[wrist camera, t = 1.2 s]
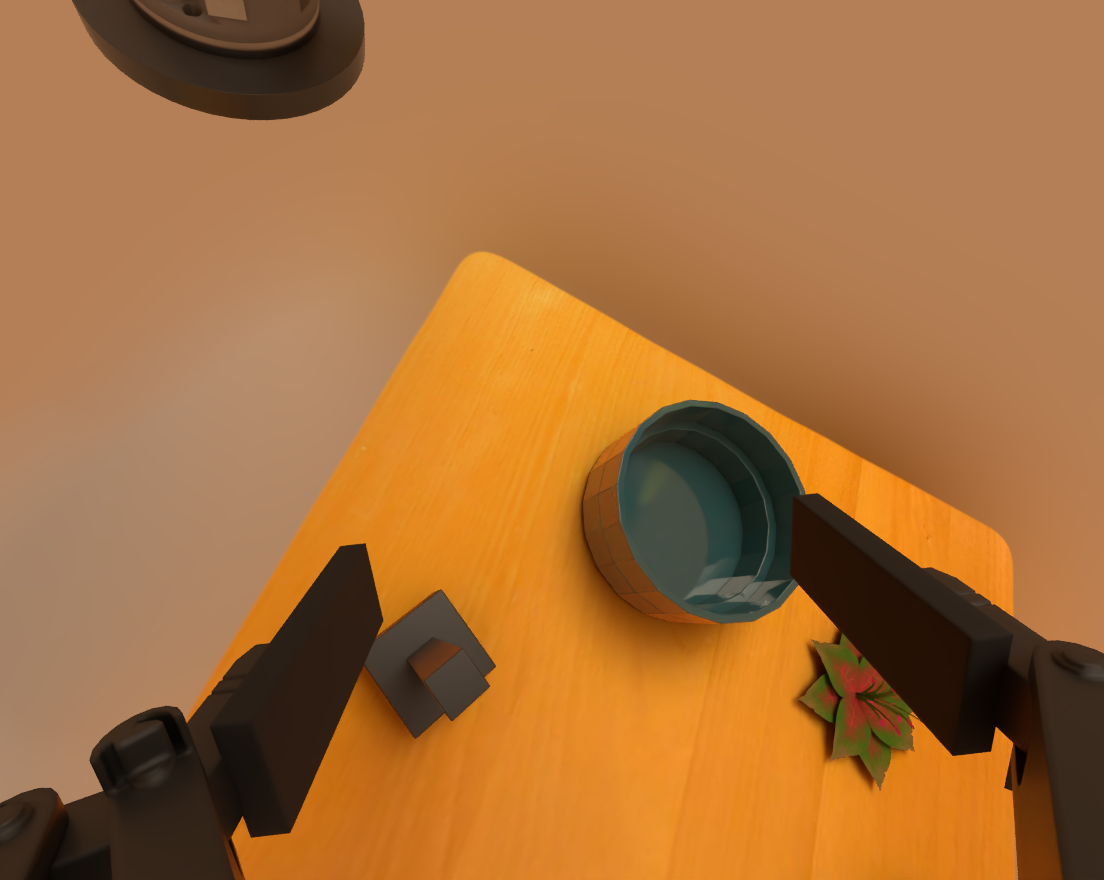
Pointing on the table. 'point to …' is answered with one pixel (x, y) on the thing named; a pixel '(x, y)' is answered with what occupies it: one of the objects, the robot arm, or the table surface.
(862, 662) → the lily flower
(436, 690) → the post on square base
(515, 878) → the table surface
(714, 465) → the bowl
